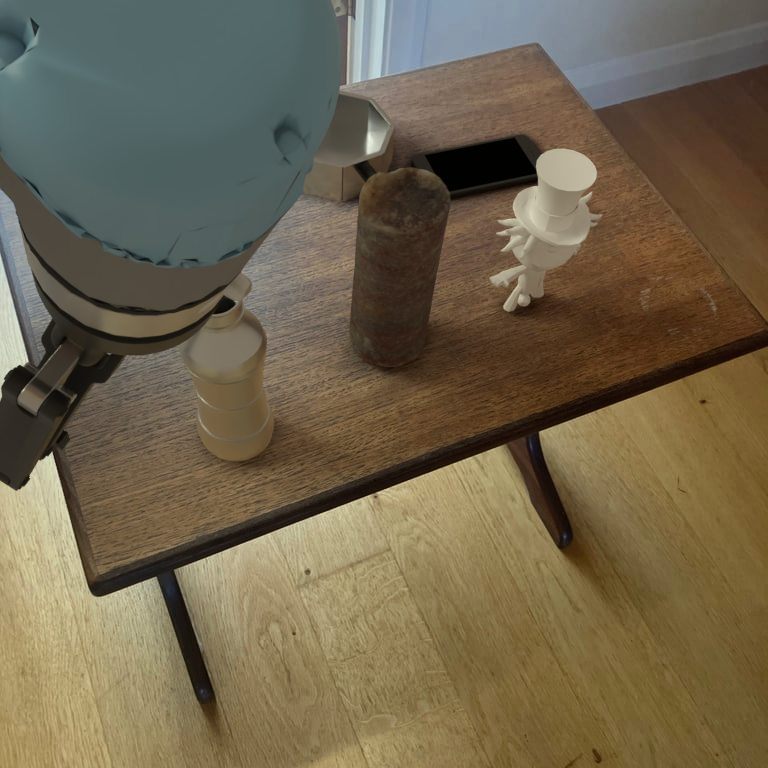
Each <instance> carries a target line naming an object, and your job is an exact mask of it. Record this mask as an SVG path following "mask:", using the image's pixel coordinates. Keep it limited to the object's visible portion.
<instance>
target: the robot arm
mask: <svg viewBox="0 0 768 768" xmlns="http://www.w3.org/2000/svg"><path fill="white" fill-rule="evenodd" d="M342 59H343V56H342V42H341V33H340V27H339V21H338V17H337V13H336V10H335V7H334V5H333V1H332V0H0V190H1V191H2V192H3V193H4V194H5V195H6V197H7V198H8V199H9V200H10V201H11V202H12V203H13V206H14V210H15V214H16V216H17V220H18V224H19V228H20V234H21V238H22V242H23V246H24V251H25V255H26V259H27V260H26V261H27V264H28V266H29V269H30V271H31V274H32V278H33V282H34V286H35V289H36V292H37V294H38V297H39V298H40V300H41V303H42V304H43V306H44V308H45V309H46V311H47V313H48V314H49V316H50V317H51V320H50V321H49V323H48V325H47V327H46V328H45V329H44V332H43V333H42V335H41V338H40V343H41V344H42V347H43V348H44V350H45V352H44V355H42V359H41V360H40V362H39V363H38V365H37V366H36V365H35V364H33V363H32V362H31V361H27V362H26V363H24V365H23V366H22V364H18V365H17V366H14V367H13V368H11V369H10V370H9V371H8V372H7V373H6V374H5V375H4V378H3V380H4V381H3V383H2V385H1V387H0V393H1V397H0V482H1V483H3V485H5V486H7V487H9V488H10V489H12V490H14V491H15V492H18V490H21V489H22V488H23V487H25V486H26V485H27V484H28V483H29V482H30V481H31V474H33V473H32V472H34V469H35V467H36V466H37V464H38V462H41V461H42V460H44V459H46V457H47V458H48V457H49V456H50V455H51V454H52V453H53V451H54V450H55V447H57V448H58V449H60V450H61V451H63V450H64V449H65V447H66V446H67V445H68V444H69V442H70V441H71V438H70V437H71V436H70V435H69V432H68V431H66V427H67V426H68V424H69V423H70V421H71V420H72V418H73V417H74V416H75V414H76V412H77V411H78V409H79V408H80V406H81V405H82V403H83V402H84V400H85V399H86V398H87V396H88V394H89V393H90V391H91V390H92V388H93V387H94V385H95V384H99V385H102V384H105V383H107V381H108V380H109V379H110V378H111V377H112V376H113V375H114V373H115V372H116V371H117V370H118V369H119V367H120V366H121V365H122V363H123V362H124V360H125V359H126V357H127V356H130V357H131V356H132V357H134V356H137V357H138V356H146V355H147V356H149V355H153V354H158V353H163V352H165V351H168V350H170V349H173V348H176V347H178V345H179V344H181V343H183V342H185V341H186V340H188V339H189V338H191V337H192V336H193V335H195V334H196V333H197V332H198V331H199V330H200V329H201V328H202V327H203V326H204V325H205V324H206V323H207V321H208V320H209V319H210V317H211V316H212V314H213V313H214V312H215V310H216V309H217V307H218V306H219V304H220V303H221V301H222V300H223V298H224V297H225V296H226V297H228V298H230V299H232V300H234V301H238V302H239V301H241V300H243V301H244V299H245V298H246V297H248V295H249V293H251V291H252V287H253V283H252V280H251V278H249V276H247V275H246V274H244V273H243V270H244V268H245V267H246V265H248V263H249V261H250V260H251V259H252V257H253V256H254V255H255V254H256V252H257V251H258V250H259V248H260V247H261V246H262V245H263V244H264V242H265V241H266V239H267V238H268V237H269V235H270V234H271V233H272V231H273V230H274V228H276V226H277V225H278V223H280V221H281V220H282V219H283V217H284V216H285V215H286V214H287V213H288V212H289V211H290V210H291V208H292V207H294V205H295V204H296V203H297V201H299V198H300V197H301V195H302V194H303V193H302V192H303V187H304V182H305V177H306V175H307V174H308V173H310V172H311V171H312V167H313V162H314V156H315V154H316V152H317V150H318V148H319V146H320V144H321V142H322V141H323V139H324V137H325V135H326V133H327V131H328V128H329V126H330V123H331V121H332V118H333V115H334V112H335V108H336V104H337V100H338V96H339V90H340V89H341V83H342V82H341V81H342V67H343V60H342ZM340 91H341V90H340Z"/></svg>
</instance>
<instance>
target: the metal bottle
mask: <svg viewBox="0 0 768 768" xmlns="http://www.w3.org/2000/svg"><path fill="white" fill-rule="evenodd" d="M177 347H178V352H179V354H180V357H181V359H182V362H183V364H184V366H185V368H186V370H187V372H188V374H189V376H190V377H191V380H192V383H193V386H194V389H195V392H196V395H197V396H196V397H197V398H196V399H197V411H196V431H197V434H198V436H199V439H200V440H201V442H202V444H203V445H204V447H205V448H206V450H208V452H209V453H211V455H213V456H215V457H217V458H219V459H221V460H223V461H228V462H245V461H248V460H251V459H254V458H255V457H258V456H259V455H260V454H262V453H263V452H264V451H265V450H266V448H267V447H268V446H269V445H270V442H271V441H272V437H273V433H274V428H275V418H274V413H273V410H272V407H271V405H270V403H269V401H268V399H267V396H266V391H265V388H264V370H265V364H266V358H267V353H268V337H267V333H266V330H265V328H264V326H263V325H262V323H261V321H260V320H259V318H258V317H257V315H255V314H254V313H253V312H252V311H251V310H249V309H248V308H246V307H245V302H244V299H243V300H241V301H239V302H238V301H234V300H232V299H230V298H228V297H226V296H225V297H224V298H223V300H222V301H221V303H220V304H219V306H218V307H217V309H216V310H215V312H214V313H213V314H212V316H211V317H210V319H209V320H208V321H207V323H206V324H205V325H204V326H203V327H202V328H201V329H200V330H199V331H198V332H197V333H196V334H195V335H193V336H192V337H191V338H189V339H188V340H186V341H185V342H183V343H181V344H179V345H177Z"/></svg>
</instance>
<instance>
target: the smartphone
mask: <svg viewBox="0 0 768 768" xmlns="http://www.w3.org/2000/svg"><path fill="white" fill-rule="evenodd" d="M541 154H542V153H541V152H540V151H539V150H538V148H537V147H536V145H535V144H534V142H533V141H532V139H531V138H530V137H529V136H528V135H526V134H515V135H511V136H506V137H501V138H494V139H490V140H484V141H480V142H479V141H478V142H475V143H470V144H464V145H459V146H454V147H449V148H443V149H438V150H433V151H429V152H424V153H419V154H416V155H414V156H413V157H412V158H411V161H410V162H411V163H410V165H411V167H412V168H417V169H424V170H427V171H429V172H432V173H433V174H435V175H437V176H438V177H440V179H441V180H442V182H443V183H444V184H445V185H446V186H447V188H448V191H449V192H450V199H453V198H458V197H462V196H466V195H467V196H468V195H471V194H472V195H473V194H476V193H481V192H486V191H490V190H496V189H499V188H505V187H510V186H515V185H519V184H523V183H524V184H525V183H528V182H529V183H530V182H534V181H538V175H537V170H536V163H537V159H538V158H539V157H540V155H541Z"/></svg>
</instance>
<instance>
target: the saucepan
mask: <svg viewBox="0 0 768 768" xmlns="http://www.w3.org/2000/svg"><path fill="white" fill-rule="evenodd" d="M395 132H396V123H395V122H394V120H392V119H391V117H390V116H389V115H388V114H387V113H386V111H385V110H384V109H383V107H382V106H381V105H380V104H379V103H378V101H376V100H375V98H373V97H370V96H366V95H363V94H357V93H353V92H348V91H344V90H339V96H338V100H337V104H336V108H335V112H334V115H333V118H332V121H331V123H330V126H329V128H328V131H327V133H326V135H325V137H324V139H323V141H322V142H321V144H320V146H319V148H318V150H317V152H316V154H315V156H314V162H313V167H312V171H311V172H310V173H308V174H307V175H306V177H305V182H304V187H303V192H302V194H306V195H311V196H315V197H319V198H323V199H326V200H331V201H336V202H339V203H342V202H343V203H344V202H347V201H349V200H353V199H355V198H359V197H360V193H361V190H362V187H363V185H364V184H365V183H366V182H367V180H368V179H369V178H370V177H371V176H373V175H374V174H377V173H378V172H383V173H389V169H390V166H391V164H392V161H393V154H394V145H395Z"/></svg>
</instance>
